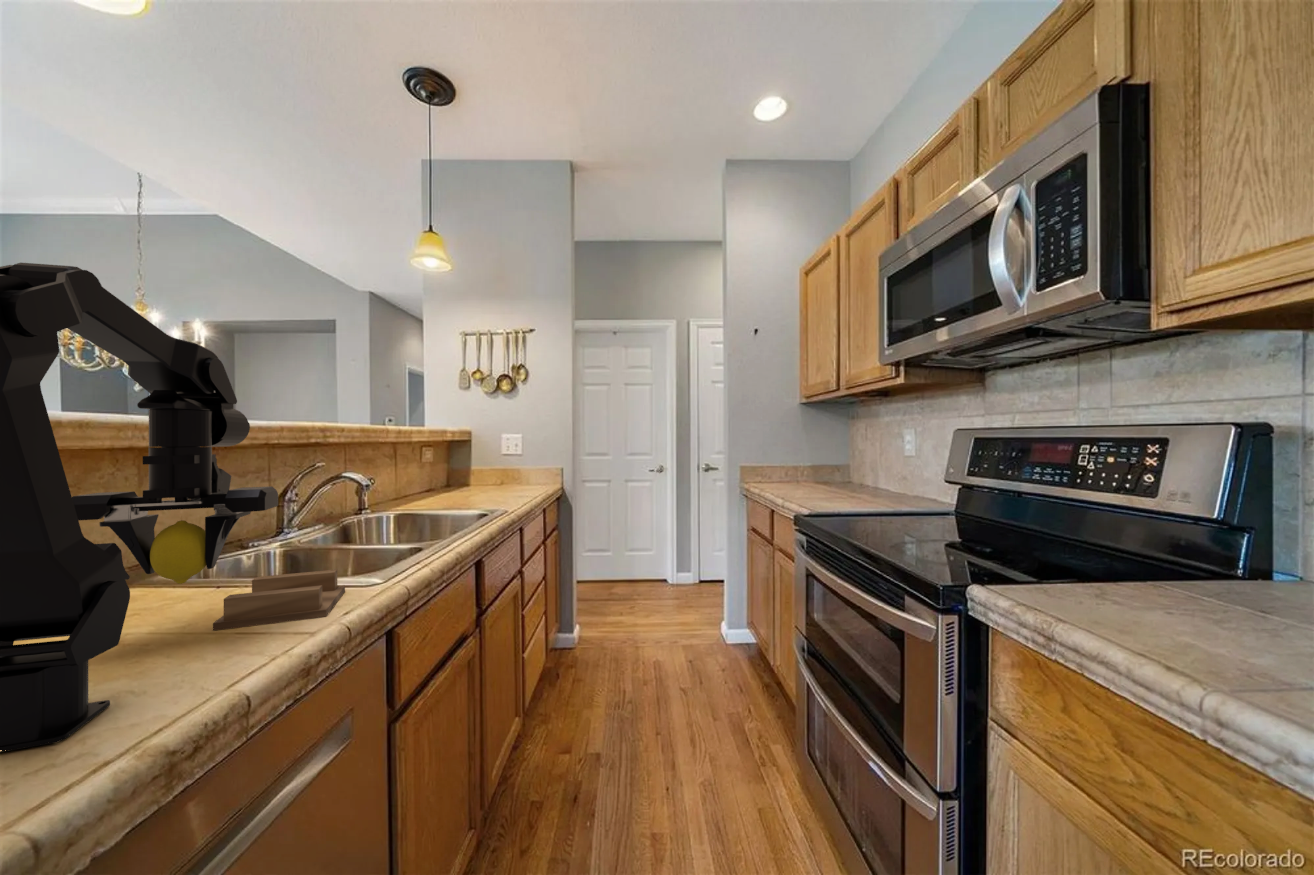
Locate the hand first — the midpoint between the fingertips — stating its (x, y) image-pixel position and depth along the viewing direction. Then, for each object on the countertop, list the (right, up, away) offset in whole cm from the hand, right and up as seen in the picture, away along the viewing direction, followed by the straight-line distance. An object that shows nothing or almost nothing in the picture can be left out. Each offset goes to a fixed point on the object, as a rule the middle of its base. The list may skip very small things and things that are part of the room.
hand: (181, 570), depth 61 cm
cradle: (+3, -9, +13) cm, 16 cm away
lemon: (0, -2, 0) cm, 2 cm away
